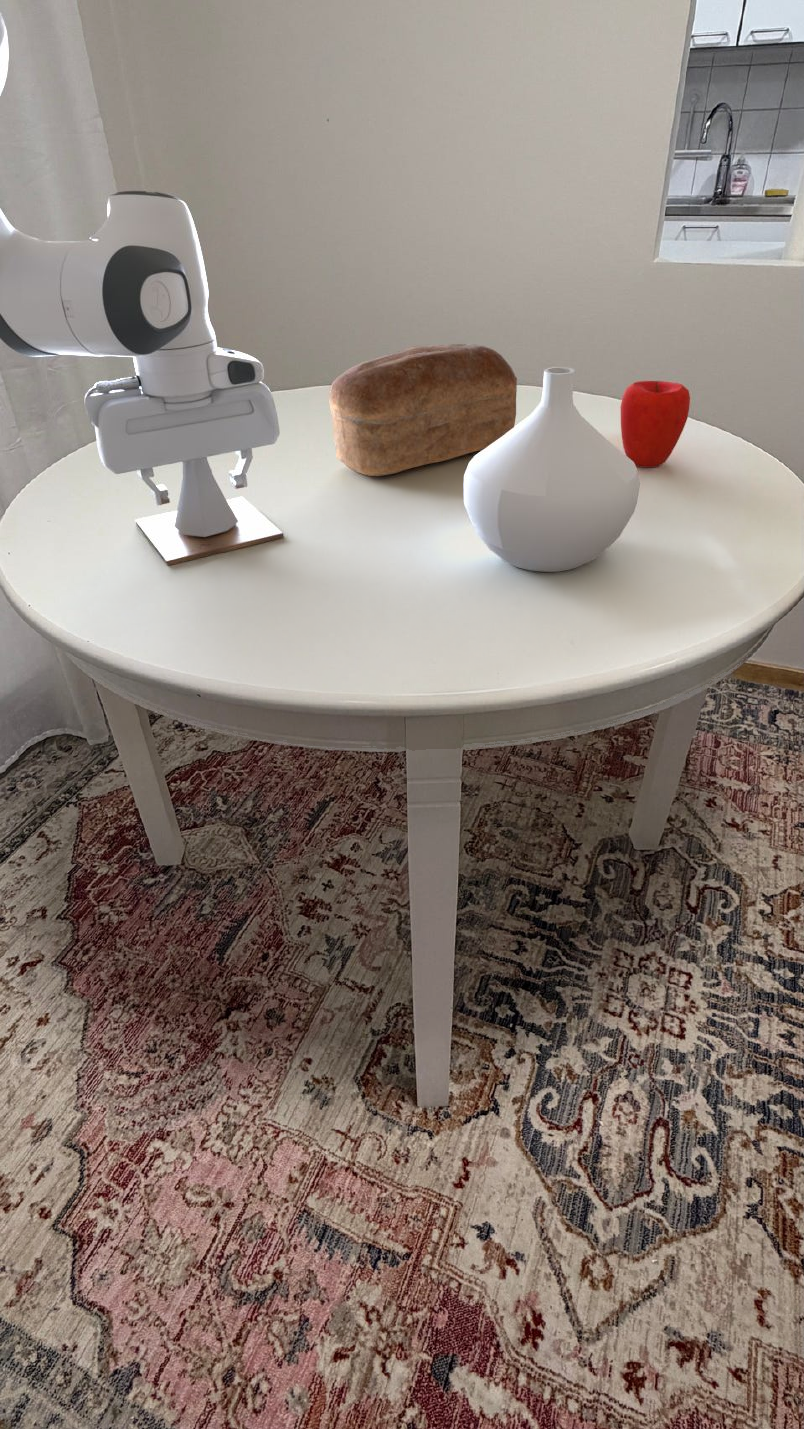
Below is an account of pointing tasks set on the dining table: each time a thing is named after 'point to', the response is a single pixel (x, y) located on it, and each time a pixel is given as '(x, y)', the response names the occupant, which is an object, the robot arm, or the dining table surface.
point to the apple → (653, 420)
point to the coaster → (190, 547)
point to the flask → (202, 502)
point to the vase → (551, 486)
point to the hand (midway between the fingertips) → (201, 494)
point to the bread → (421, 407)
